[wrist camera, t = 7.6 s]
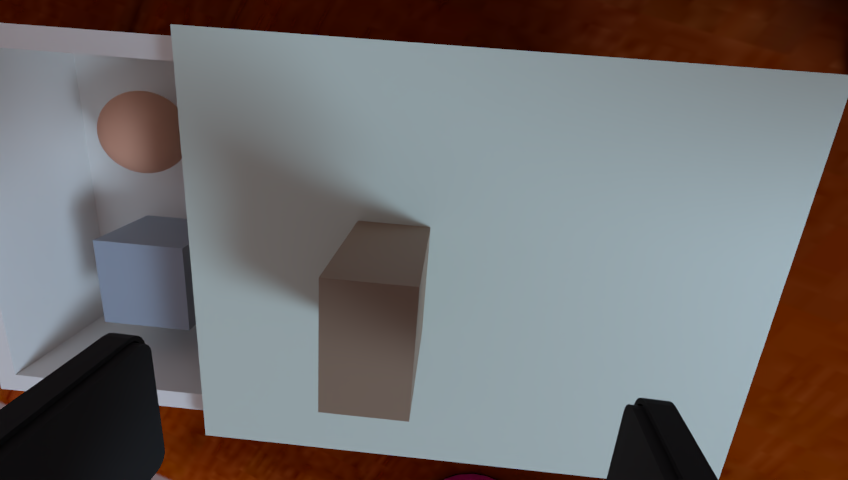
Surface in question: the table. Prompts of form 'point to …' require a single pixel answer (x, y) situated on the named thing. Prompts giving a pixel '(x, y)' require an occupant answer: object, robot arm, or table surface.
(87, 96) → the storage box
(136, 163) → the coral ball
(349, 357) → the lid
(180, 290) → the slate block
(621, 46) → the table surface
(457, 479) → the pepper mill
